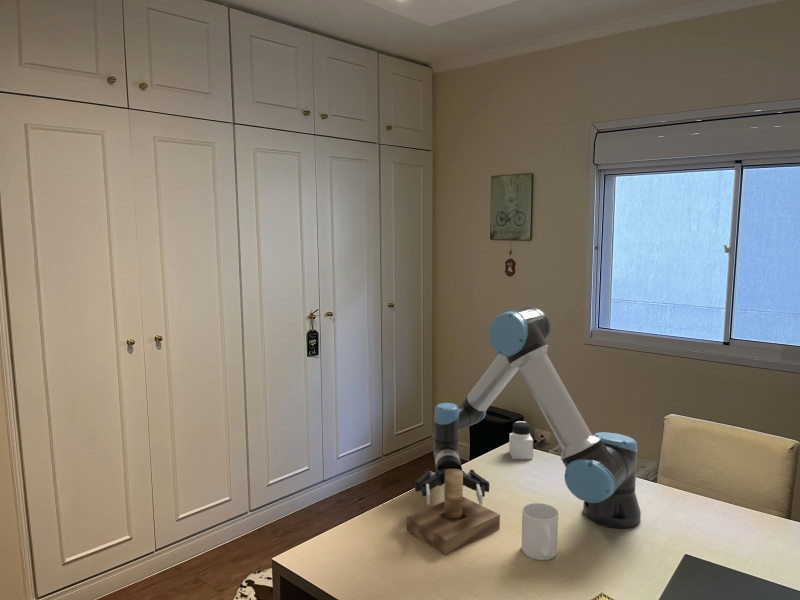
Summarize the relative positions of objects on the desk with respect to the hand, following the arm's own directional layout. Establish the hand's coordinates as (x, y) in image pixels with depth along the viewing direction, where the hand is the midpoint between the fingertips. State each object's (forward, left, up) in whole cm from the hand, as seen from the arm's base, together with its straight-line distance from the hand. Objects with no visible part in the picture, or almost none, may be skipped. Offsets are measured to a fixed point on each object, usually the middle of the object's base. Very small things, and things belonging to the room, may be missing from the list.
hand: (454, 499), depth 151 cm
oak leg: (+3, -2, -10) cm, 11 cm away
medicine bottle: (+24, -57, -10) cm, 63 cm away
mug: (-20, -10, -10) cm, 25 cm away
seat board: (+3, -2, -10) cm, 11 cm away
